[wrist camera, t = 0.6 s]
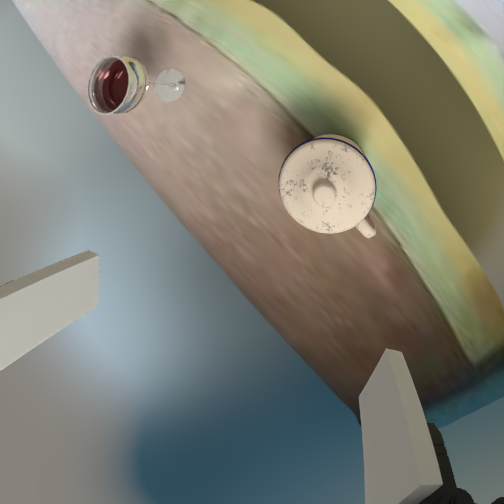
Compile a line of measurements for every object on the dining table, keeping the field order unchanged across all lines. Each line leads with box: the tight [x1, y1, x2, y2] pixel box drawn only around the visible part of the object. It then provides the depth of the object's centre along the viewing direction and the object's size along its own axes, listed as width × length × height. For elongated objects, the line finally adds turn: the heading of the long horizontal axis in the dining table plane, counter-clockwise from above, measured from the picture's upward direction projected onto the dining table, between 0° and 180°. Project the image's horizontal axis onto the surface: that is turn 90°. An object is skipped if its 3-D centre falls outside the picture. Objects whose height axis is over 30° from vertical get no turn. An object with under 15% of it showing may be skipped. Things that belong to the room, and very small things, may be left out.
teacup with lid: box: [279, 134, 376, 238], centre depth 28 cm, size 12×9×12 cm
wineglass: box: [87, 55, 185, 115], centre depth 29 cm, size 7×7×12 cm
